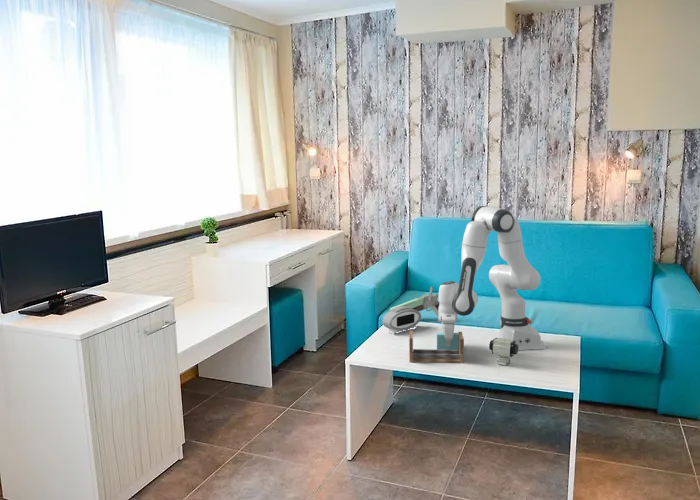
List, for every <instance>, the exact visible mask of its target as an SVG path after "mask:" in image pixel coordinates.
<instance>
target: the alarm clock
mask: <svg viewBox="0 0 700 500" xmlns="http://www.w3.org/2000/svg"><path fill="white" fill-rule="evenodd" d="M421 320H422V314H421V311H417V310H414V309H412V308H410V307H398V308H395V309H394V310H391V311H390V312H389V311H388V312H387V313H385V315H384V316H383V318H382V325H383V326H384V327H385V328H386V329H387V332H388V331H389V332H392V333H396V332H399V331H403V330H408V329H410V328H414V327H416V328H417V325H418V324H419V322H421Z"/></svg>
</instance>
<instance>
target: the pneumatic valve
mask: <svg viewBox="0 0 700 500" xmlns="http://www.w3.org/2000/svg"><path fill="white" fill-rule="evenodd" d="M488 348H489V350H490V351H491V355H497V356H498V357H497V358H496V362H497V364H498V365H501V366H504V367H507V366H508V365H509V364H510V363H511V359H510V358H512V357H514V356H515V355H517V354H518V352H519V350H518V344H516V343H515V341H514V340H508V339H505V338H503V339H501V338H499V337H495V338H493V339H492V340H490V342H489V344H488Z"/></svg>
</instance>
